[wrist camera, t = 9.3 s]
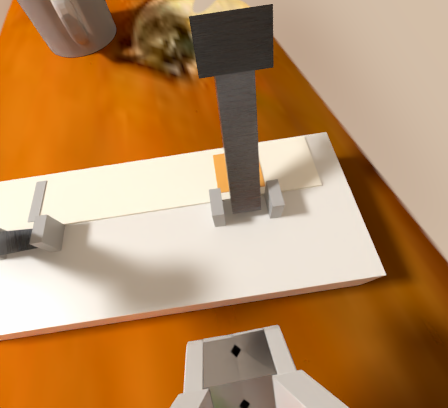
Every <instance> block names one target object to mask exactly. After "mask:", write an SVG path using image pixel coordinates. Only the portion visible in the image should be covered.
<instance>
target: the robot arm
mask: <svg viewBox="0 0 448 408" xmlns="http://www.w3.org/2000/svg"><path fill="white" fill-rule="evenodd" d="M170 408H349V407H348V406H346V405H345V404H344V403H343V402H341V401H340V400H339V399H338V398H336V397H335V396H334V395H333V394H331V393H330V392H329V391H328V390H326V389H325V388H324V387H323V386H321V385H320V384H319V383H318V382H316V381H315V380H314V379H313V378H311V377H310V376H309V375H308V374H307V373H305V372H304V371H303V370H296V367H295V365H294V362H293V359H292V357H291V354H290V352H289V349H288V347H287V344H286V342H285V339H284V337H283V334H282V332H281V329H280V327H279V326H278V325H274V326H269V327H264V328H259V329H254V330H249V331H245V332H240V333H235V334H231V335H225V336H219V337H212V338H206V339H202V340H196V341H190V342H188V343H187V346H186V361H185V377H184V393H182V394H178V396H177V397H176V399H175V401H174V402H173V404H172V405H171V407H170Z"/></svg>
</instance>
